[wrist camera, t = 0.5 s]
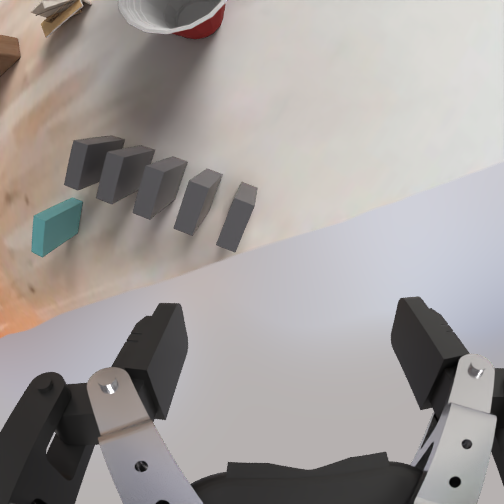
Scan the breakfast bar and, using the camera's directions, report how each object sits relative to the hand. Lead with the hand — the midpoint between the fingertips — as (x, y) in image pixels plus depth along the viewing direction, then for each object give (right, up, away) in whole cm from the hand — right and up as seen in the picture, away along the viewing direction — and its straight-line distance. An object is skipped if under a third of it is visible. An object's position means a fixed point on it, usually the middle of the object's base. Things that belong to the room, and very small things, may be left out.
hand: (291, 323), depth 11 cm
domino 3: (-15, +13, +25) cm, 32 cm away
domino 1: (-27, +8, +28) cm, 40 cm away
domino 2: (-19, +15, +25) cm, 35 cm away
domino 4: (-11, +12, +26) cm, 30 cm away
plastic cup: (-8, +30, +18) cm, 36 cm away
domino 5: (-7, +10, +26) cm, 29 cm away
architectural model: (-26, +36, +17) cm, 48 cm away
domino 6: (-3, +8, +27) cm, 28 cm away
